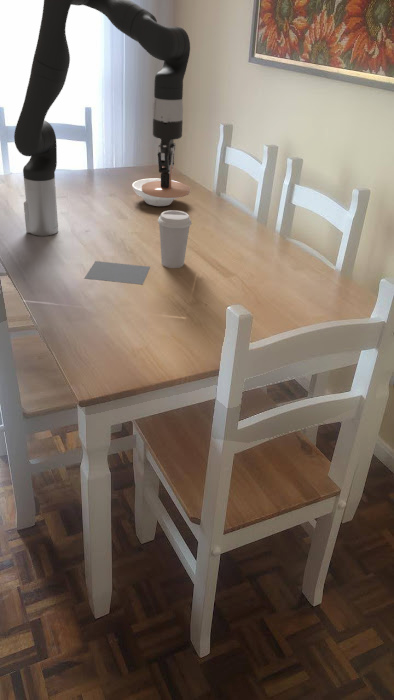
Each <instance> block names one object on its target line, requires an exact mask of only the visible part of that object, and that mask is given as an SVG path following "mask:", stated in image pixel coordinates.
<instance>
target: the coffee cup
mask: <svg viewBox="0 0 394 700" xmlns="http://www.w3.org/2000/svg"><path fill="white" fill-rule="evenodd" d="M157 223H158V224H159V237H160V238H159V240H160V242H159V243H160V256H161V257H160V258H161V259H160V260H161V265H162V266H164V267H165V268H168V269H169V268H170V269H178V268H180V269H181V268H183V266H184V264H185V259H186V253H187V245H188V240H189V239H188V238H189V232H190V227H191V225H192V224H193V223H192V220H191V218H190V215H189V214H188V213H187V212H186V211H183V210H174V209H173V210H171V209H170V210H164V211H163V212H161V213H160V215H159V217H158V219H157Z"/></svg>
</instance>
